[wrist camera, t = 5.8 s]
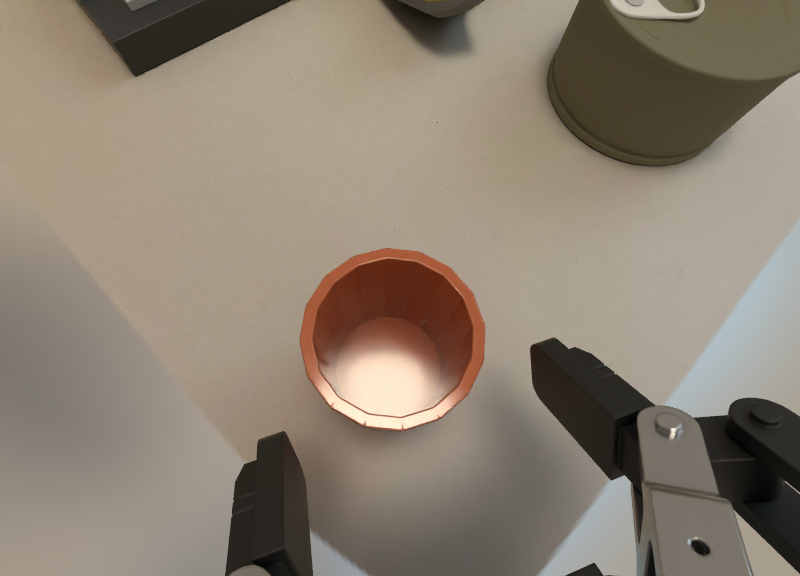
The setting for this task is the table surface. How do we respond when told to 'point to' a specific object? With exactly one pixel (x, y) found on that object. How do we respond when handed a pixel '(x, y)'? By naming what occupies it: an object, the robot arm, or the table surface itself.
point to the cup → (392, 339)
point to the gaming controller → (442, 6)
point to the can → (669, 71)
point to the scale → (167, 25)
